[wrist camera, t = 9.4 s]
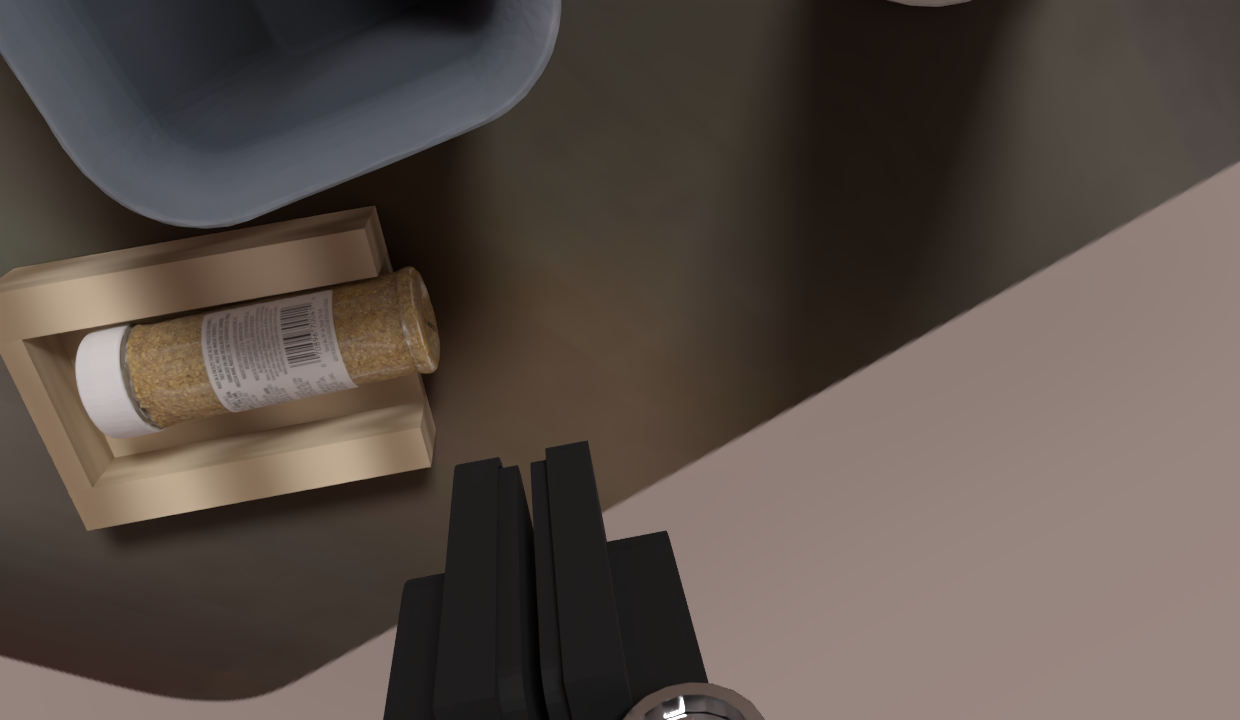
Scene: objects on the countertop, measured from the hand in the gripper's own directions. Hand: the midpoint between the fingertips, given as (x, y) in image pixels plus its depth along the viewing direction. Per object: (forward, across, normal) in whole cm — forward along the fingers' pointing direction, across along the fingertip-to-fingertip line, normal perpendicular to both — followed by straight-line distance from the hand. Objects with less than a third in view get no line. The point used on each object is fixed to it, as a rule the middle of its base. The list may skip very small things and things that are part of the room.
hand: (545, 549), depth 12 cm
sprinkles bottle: (+26, +5, +7) cm, 27 cm away
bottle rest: (+29, +14, +8) cm, 33 cm away
